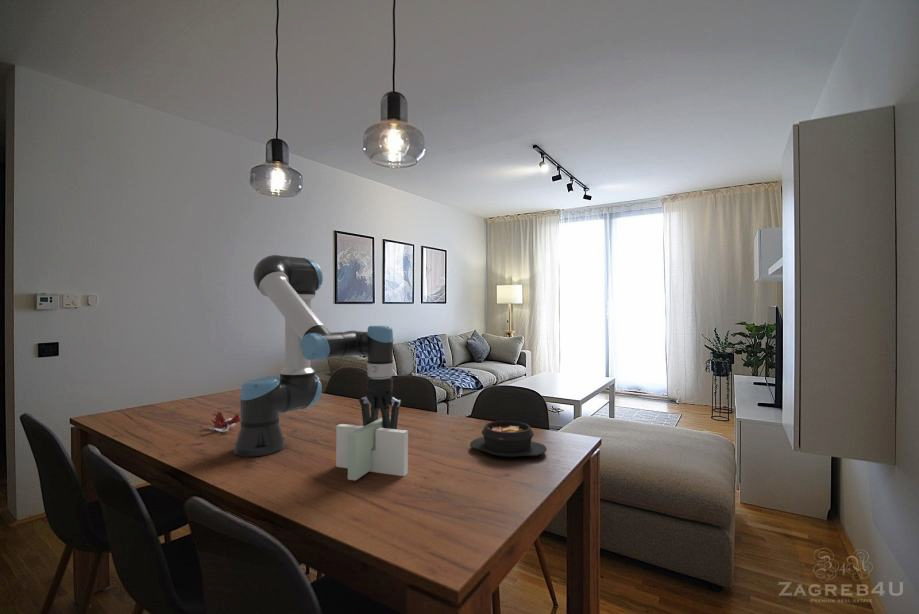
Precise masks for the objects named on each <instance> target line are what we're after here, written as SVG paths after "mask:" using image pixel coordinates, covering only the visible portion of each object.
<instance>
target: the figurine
mask: <svg viewBox="0 0 919 614" xmlns="http://www.w3.org/2000/svg"><path fill="white" fill-rule="evenodd" d="M212 415H213V416H215V417H214V419H210V421H211V422H212V423H213V426H212V427H211V426H208V427H207V428H208V429H210V430H212V431H214V432H218V433H221V432H223V433H225V432H228V431H229V429H230V428H231V427H232V428H234V427H235V426H236V425H237V424H238V423H239V422H241V414H234V417H233V418H231V417H229V418H224V415H223V414H222V412H221V411H219V410H216V411H215V412H214V413H212ZM215 430H216V431H215Z"/></svg>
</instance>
